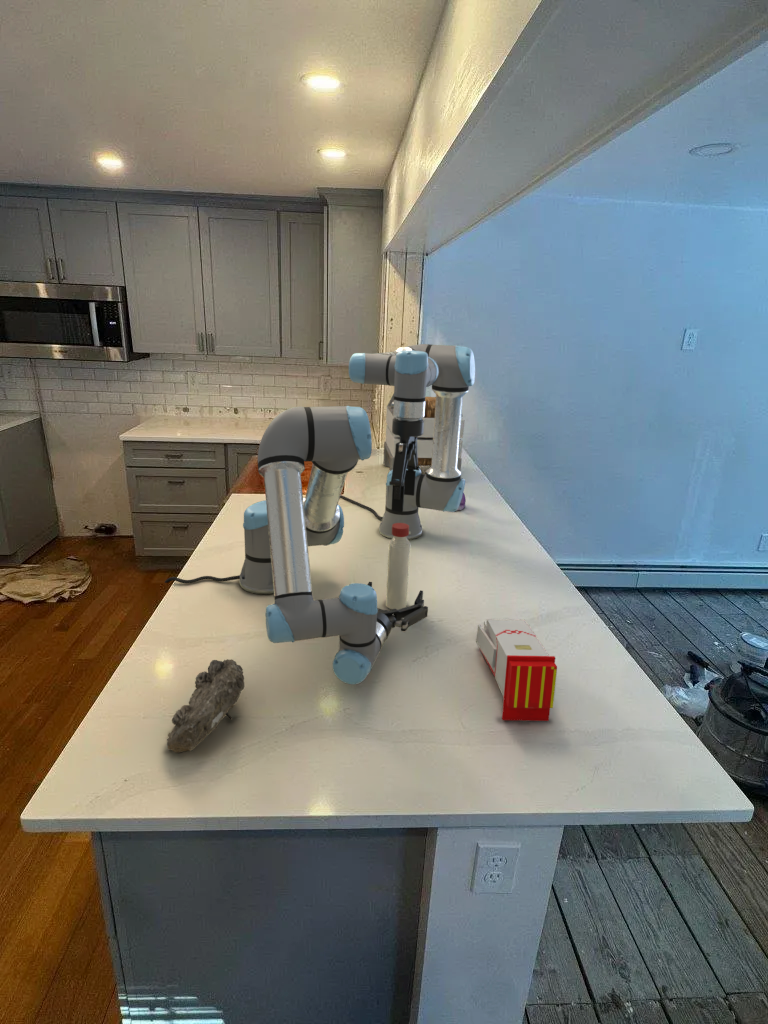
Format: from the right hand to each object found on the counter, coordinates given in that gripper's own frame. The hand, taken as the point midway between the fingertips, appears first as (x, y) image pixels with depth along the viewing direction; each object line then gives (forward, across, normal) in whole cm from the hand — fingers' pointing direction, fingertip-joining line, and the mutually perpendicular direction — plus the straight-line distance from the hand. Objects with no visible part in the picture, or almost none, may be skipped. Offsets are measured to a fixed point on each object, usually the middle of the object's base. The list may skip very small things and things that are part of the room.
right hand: (403, 502), depth 142 cm
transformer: (+29, -130, -19) cm, 134 cm away
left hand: (+23, +4, 0) cm, 23 cm away
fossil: (+29, +54, -24) cm, 66 cm away
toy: (+29, +24, +30) cm, 48 cm away
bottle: (+29, 0, 0) cm, 29 cm away
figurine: (+29, -85, +4) cm, 90 cm away
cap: (+7, 0, 0) cm, 7 cm away
